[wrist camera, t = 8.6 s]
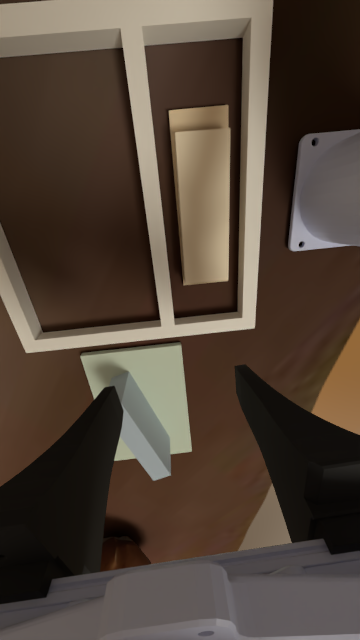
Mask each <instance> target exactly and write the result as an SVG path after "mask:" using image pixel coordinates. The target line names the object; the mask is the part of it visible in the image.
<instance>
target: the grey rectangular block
mask: <svg viewBox="0 0 360 640" xmlns="http://www.w3.org/2000/svg"><path fill="white" fill-rule="evenodd" d="M109 386H115V388H116V391H117V394H118V396H119V399H120V402H121V405H122V408H123V410H124V412H123V422H122V429H121V434H120V437H121V439H122V440H123V441H124V442H125V444H126V445H127V446H128V448H129V449H130V450H131V452H132V453H133V454H134V456H135V457H136V458H137V460H138V461H139V462H140V464H141V465H142V466H143V467H144V469H145V470H146V471H147V473H148V474H149V475H150V477H151V478H152V479H153V481H154V480H157V479H160V478H164V477H167V476H170V475H171V457H170V437H169V435H168V434H167V432H166V430H165V429H164V427H163V426H162V424H161V422H160V421H159V419H158V417H157V416H156V414H155V413H154V411H153V409H152V408H151V406H150V404H149V403H148V401H147V400H146V398H145V396H144V395H143V393H142V391H141V390H140V388H139V387H138V385H137V383H136V382H135V380H134V379H133V377H132V375H131V374H130V372H126V373H123V374H121V375H118V376H115V377H112V378H111V381H110V384H109Z"/></svg>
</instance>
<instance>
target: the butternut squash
mask: <svg viewBox="0 0 360 640" xmlns="http://www.w3.org/2000/svg"><path fill="white" fill-rule="evenodd" d="M150 564H151V562H150V560H149V559H148V558H147V557H146V555H145V554H144V553H143V552H142V551H141V549H140V548H139V547H138V546H137V545H136V543H135V542H134V541H133V540H131V539H130V538H129V537H128V536H122V537H107V538H103V543H102V555H101V568H100V572H103V571H110V570H117V569H123V568H130V567H137V566H143V565H150Z"/></svg>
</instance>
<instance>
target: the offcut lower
mask: <svg viewBox="0 0 360 640" xmlns="http://www.w3.org/2000/svg"><path fill="white" fill-rule="evenodd" d="M169 123H170V134H171V146H172V157H173V169H174V181H175V192H176V204H177V216H178V227H179V239H180V251H181V262H182V274H183V285H192V284H202V283H211V282H221V281H228V280H220V281H209V282H198V283H187V284H185V281H184V269H183V255H182V241H181V226H180V212H179V197H178V183H177V168H176V154H175V140H174V138H175V132H184V131H197V130H211V129H224V128H228V105H222V106H211V107H200V108H189V109H178V110H169Z"/></svg>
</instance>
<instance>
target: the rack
mask: <svg viewBox="0 0 360 640" xmlns="http://www.w3.org/2000/svg"><path fill="white" fill-rule="evenodd" d="M272 14H273V0H50V1H37V2H24V3H11V4H0V58H2V57H14V56H26V55H38V54H50V53H62V52H75V51H87V50H99V49H111V48H123V51H124V59H125V66H126V73H127V80H128V87H129V95H130V102H131V109H132V116H133V124H134V131H135V138H136V145H137V153H138V160H139V167H140V174H141V181H142V189H143V196H144V203H145V210H146V218H147V225H148V232H149V239H150V246H151V254H152V261H153V268H154V275H155V283H156V290H157V297H158V304H159V312H160V319H161V320H156V321H146V322H137V323H128V324H118V325H109V326H100V327H90V328H81V329H72V330H62V331H53V332H44V333H43V331H42V328H41V326H40V323H39V321H38V318H37V316H36V313H35V310H34V308H33V305H32V303H31V300H30V298H29V295H28V292H27V290H26V287H25V285H24V282H23V280H22V277H21V275H20V272H19V269H18V267H17V264H16V262H15V259H14V257H13V254H12V252H11V249H10V246H9V244H8V241H7V239H6V236H5V234H4V231H3V229H2V226H1V223H0V295H1V298H2V300H3V302H4V304H5V307H6V309H7V311H8V313H9V316H10V318H11V320H12V322H13V324H14V327H15V329H16V331H17V333H18V336H19V338H20V340H21V342H22V345H23V347H24V349H25V351H26V353H32V352H41V351H50V350H59V349H68V348H77V347H87V346H96V345H105V344H114V343H123V342H133V341H142V340H151V339H160V338H169V337H178V336H188V335H197V334H206V333H215V332H224V331H233V330H243V329H252V328H255V315H256V297H257V279H258V262H259V244H260V226H261V209H262V191H263V173H264V156H265V138H266V120H267V103H268V85H269V67H270V50H271V32H272ZM232 38H243V56H242V107H241V158H240V209H239V259H238V310H237V312H230V313H221V314H212V315H202V316H193V317H184V318H174V313H173V304H172V295H171V285H170V276H169V267H168V258H167V249H166V240H165V231H164V222H163V213H162V204H161V195H160V186H159V177H158V168H157V158H156V149H155V140H154V131H153V122H152V113H151V104H150V95H149V86H148V77H147V68H146V59H145V50H144V46H147V45H160V44H172V43H184V42H196V41H208V40H220V39H232Z"/></svg>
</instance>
